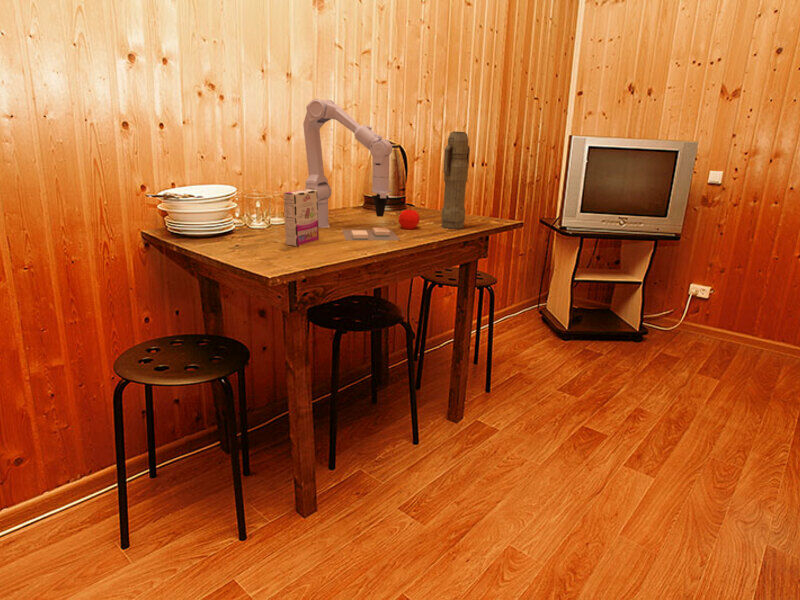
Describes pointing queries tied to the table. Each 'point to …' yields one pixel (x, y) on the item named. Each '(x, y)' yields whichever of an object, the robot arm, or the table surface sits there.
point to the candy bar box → (301, 217)
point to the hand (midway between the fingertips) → (379, 216)
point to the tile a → (359, 234)
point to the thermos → (455, 180)
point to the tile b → (381, 231)
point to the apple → (409, 219)
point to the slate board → (371, 236)
